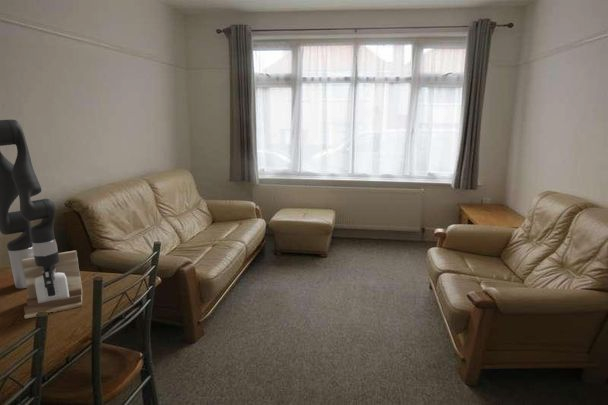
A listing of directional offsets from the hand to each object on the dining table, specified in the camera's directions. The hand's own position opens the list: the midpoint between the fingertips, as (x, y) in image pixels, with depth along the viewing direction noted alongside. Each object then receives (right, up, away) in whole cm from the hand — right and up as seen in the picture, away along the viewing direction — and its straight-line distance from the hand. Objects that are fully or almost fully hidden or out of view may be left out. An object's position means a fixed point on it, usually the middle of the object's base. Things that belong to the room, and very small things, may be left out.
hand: (52, 291), depth 142 cm
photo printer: (0, -5, +1) cm, 5 cm away
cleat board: (-1, -6, +3) cm, 6 cm away
